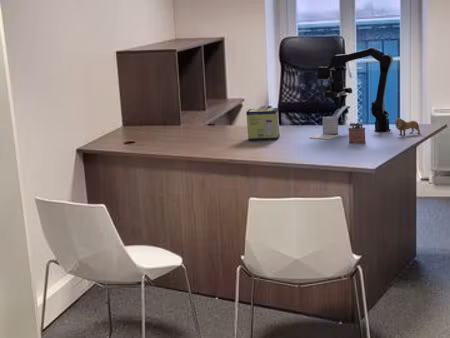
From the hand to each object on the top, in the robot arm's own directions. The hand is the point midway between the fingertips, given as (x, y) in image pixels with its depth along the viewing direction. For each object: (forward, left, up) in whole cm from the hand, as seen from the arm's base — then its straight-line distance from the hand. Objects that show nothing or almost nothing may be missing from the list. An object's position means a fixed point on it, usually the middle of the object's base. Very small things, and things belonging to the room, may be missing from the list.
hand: (338, 108), depth 379 cm
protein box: (+26, +32, -12) cm, 43 cm away
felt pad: (-2, +17, -12) cm, 21 cm away
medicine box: (0, +9, -12) cm, 15 cm away
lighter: (-26, +25, -12) cm, 38 cm away
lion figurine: (-38, -2, -12) cm, 40 cm away
